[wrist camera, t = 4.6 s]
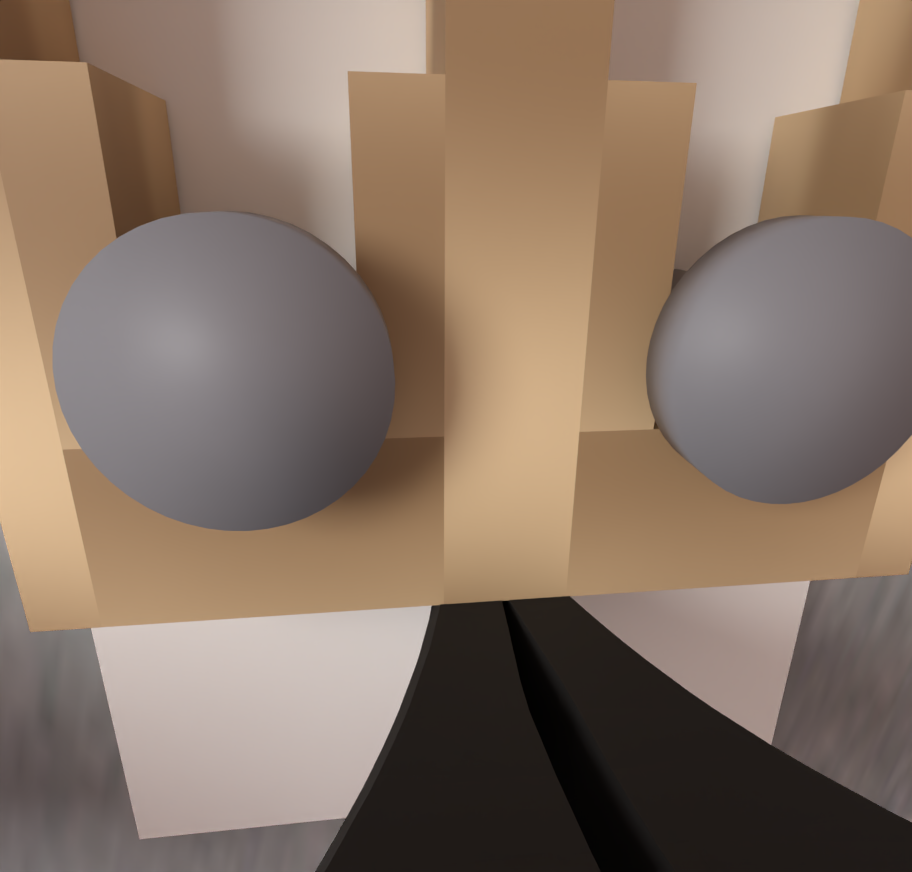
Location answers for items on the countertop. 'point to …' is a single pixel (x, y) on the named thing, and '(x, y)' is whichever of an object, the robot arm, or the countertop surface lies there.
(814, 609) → the countertop surface
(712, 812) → the robot arm
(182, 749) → the mounting plate
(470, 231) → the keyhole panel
